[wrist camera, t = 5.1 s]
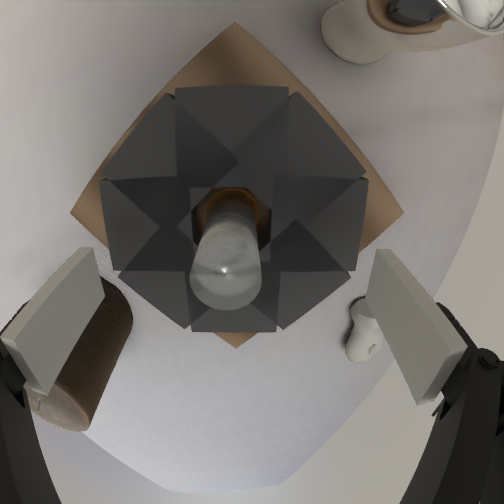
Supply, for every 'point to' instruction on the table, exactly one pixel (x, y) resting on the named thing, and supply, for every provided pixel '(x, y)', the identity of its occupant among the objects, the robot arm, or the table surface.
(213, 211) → the steel post
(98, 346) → the pillar candle
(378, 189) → the walnut base
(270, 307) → the dark grey faceted disc
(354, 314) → the smooth white sculpture
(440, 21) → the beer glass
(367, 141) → the table surface
